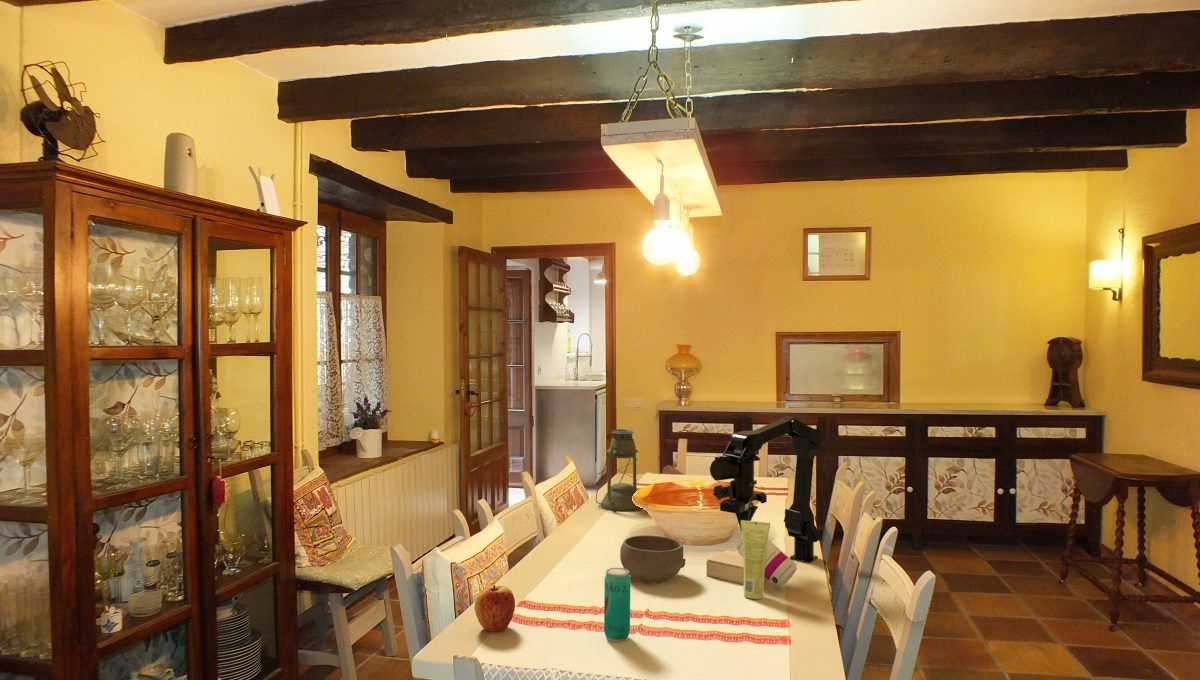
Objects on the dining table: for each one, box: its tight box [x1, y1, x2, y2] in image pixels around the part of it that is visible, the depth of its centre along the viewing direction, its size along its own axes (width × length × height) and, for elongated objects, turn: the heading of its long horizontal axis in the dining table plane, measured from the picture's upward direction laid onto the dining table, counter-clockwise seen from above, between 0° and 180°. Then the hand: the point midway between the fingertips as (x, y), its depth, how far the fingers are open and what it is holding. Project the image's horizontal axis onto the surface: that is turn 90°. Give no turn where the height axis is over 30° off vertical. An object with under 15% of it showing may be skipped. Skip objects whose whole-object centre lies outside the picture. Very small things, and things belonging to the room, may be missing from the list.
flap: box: [719, 549, 743, 559], centre depth 217 cm, size 5×14×1 cm, turn 53°
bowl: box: [619, 534, 686, 584], centre depth 211 cm, size 17×18×10 cm
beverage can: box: [603, 567, 631, 643], centre depth 169 cm, size 6×6×15 cm
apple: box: [474, 584, 516, 632], centre depth 174 cm, size 9×9×10 cm
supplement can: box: [736, 538, 798, 589], centre depth 205 cm, size 8×8×15 cm
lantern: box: [595, 428, 642, 513], centre depth 297 cm, size 21×18×30 cm
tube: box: [741, 520, 771, 600], centre depth 197 cm, size 6×5×20 cm
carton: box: [705, 553, 767, 585], centre depth 214 cm, size 12×14×5 cm
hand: (743, 531), depth 218 cm, fingers closed
